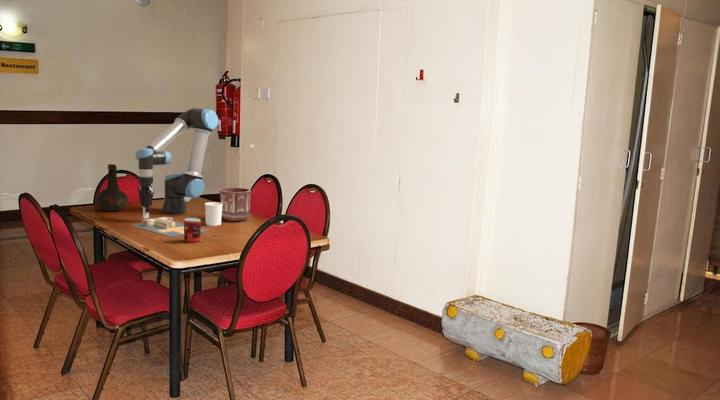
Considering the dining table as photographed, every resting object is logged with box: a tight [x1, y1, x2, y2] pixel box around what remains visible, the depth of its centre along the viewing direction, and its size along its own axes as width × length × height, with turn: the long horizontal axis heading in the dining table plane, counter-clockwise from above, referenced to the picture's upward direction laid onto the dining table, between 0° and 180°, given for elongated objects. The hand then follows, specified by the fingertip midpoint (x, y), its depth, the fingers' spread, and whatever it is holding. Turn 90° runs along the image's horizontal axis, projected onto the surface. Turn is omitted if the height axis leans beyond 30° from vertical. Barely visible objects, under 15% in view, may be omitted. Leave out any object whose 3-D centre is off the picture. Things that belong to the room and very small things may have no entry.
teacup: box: [184, 197, 192, 204], centre depth 410 cm, size 14×11×8 cm
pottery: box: [219, 187, 252, 223], centre depth 359 cm, size 18×18×18 cm
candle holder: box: [204, 201, 223, 227], centre depth 343 cm, size 10×10×12 cm
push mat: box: [130, 220, 210, 238], centre depth 329 cm, size 24×36×1 cm, turn 52°
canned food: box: [183, 217, 202, 244], centre depth 303 cm, size 8×8×11 cm
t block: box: [141, 216, 176, 229], centre depth 333 cm, size 16×15×3 cm
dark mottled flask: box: [96, 163, 129, 213], centre depth 367 cm, size 18×18×28 cm
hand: (145, 218), depth 343 cm, fingers closed
